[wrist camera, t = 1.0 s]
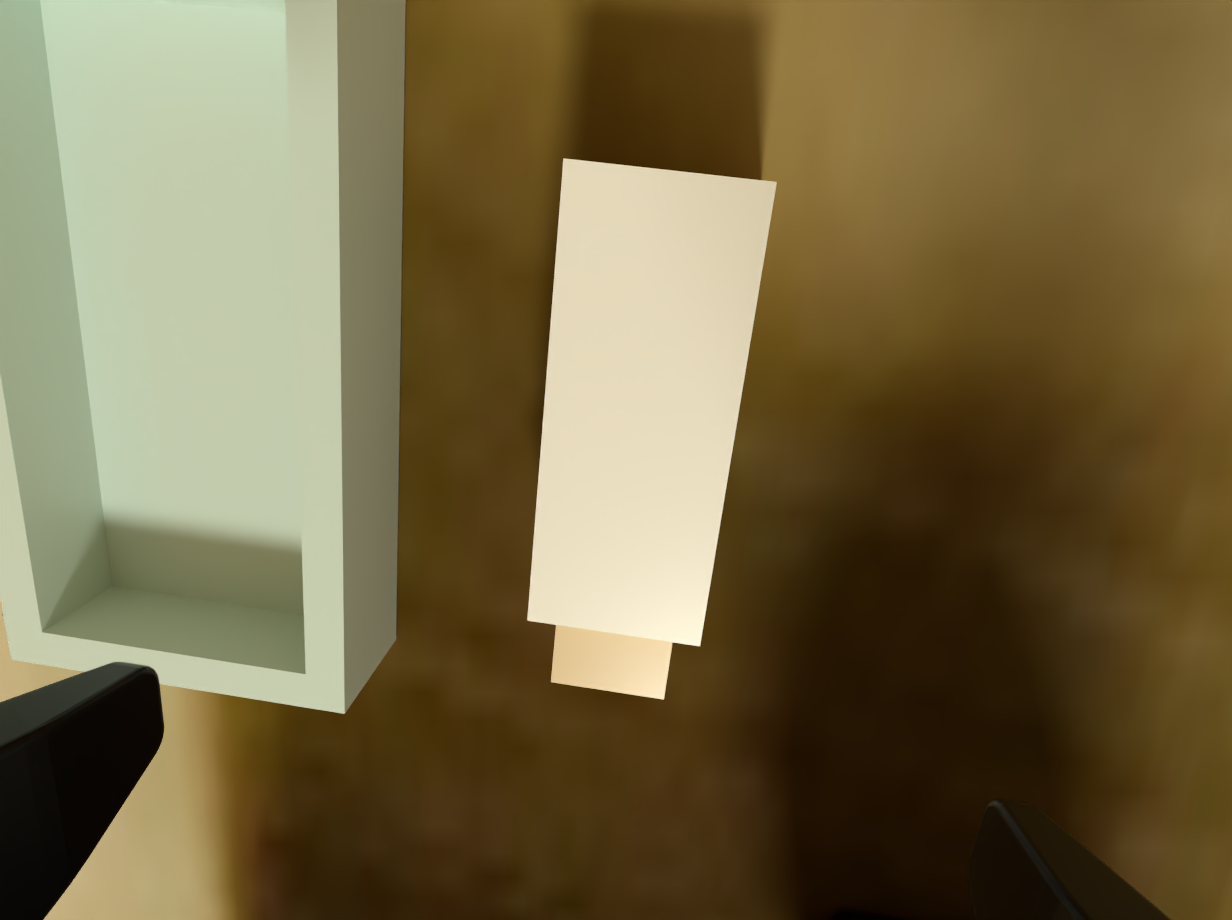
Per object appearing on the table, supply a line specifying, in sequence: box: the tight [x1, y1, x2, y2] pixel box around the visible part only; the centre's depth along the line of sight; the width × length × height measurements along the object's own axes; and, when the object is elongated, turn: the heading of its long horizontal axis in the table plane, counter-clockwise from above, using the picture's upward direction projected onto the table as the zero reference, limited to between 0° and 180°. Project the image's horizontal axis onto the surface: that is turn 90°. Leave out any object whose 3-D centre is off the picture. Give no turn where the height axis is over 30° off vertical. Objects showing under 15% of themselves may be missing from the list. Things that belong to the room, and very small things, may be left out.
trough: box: [0, 0, 406, 714], centre depth 19 cm, size 9×17×4 cm, turn 174°
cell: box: [527, 158, 777, 699], centre depth 18 cm, size 4×12×4 cm, turn 174°
